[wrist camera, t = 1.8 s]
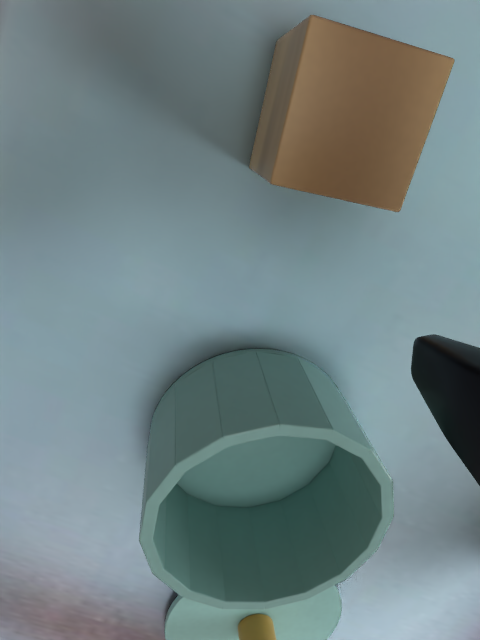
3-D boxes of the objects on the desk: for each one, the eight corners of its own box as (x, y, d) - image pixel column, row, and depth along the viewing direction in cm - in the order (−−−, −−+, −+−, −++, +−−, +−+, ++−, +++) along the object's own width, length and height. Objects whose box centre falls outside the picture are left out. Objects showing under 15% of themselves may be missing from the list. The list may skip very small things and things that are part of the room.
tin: (372, 362, 25) (432, 439, 19) (313, 511, 29) (348, 610, 23) (166, 334, 22) (162, 411, 16) (137, 501, 27) (126, 608, 21)
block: (388, 72, 19) (456, 58, 14) (351, 191, 20) (400, 213, 16) (276, 39, 17) (310, 13, 13) (248, 168, 19) (269, 184, 15)
